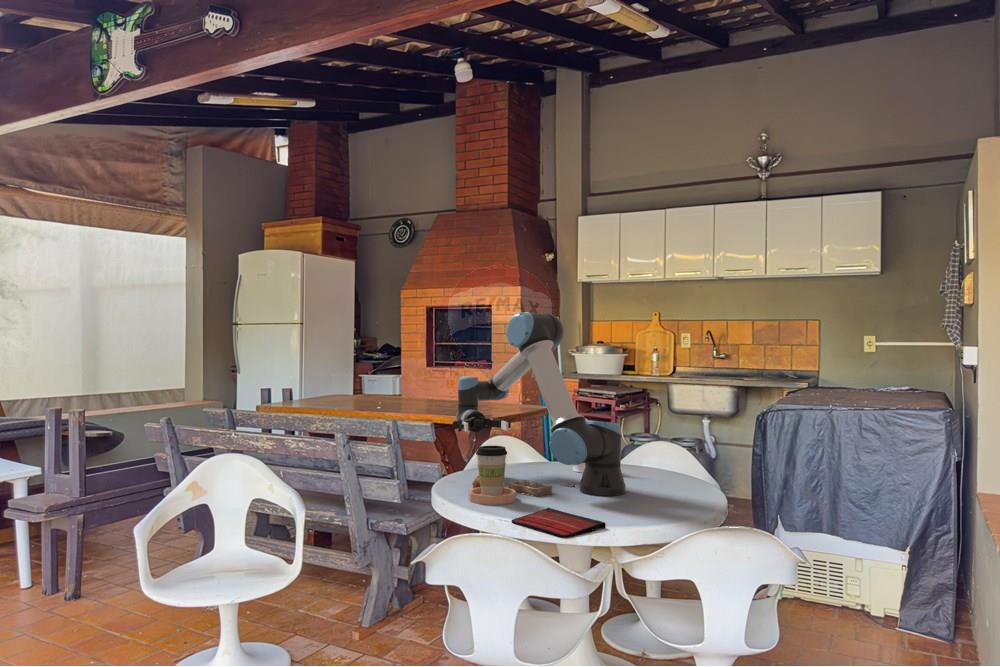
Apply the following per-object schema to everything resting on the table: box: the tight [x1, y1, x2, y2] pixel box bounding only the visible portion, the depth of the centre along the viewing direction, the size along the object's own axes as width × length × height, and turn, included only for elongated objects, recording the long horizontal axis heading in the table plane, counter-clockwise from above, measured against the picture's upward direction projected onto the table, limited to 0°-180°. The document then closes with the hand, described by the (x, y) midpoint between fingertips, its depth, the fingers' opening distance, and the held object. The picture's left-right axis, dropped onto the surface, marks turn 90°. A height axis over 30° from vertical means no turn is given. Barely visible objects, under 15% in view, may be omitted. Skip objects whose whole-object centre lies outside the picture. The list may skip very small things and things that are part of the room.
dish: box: [467, 486, 517, 506], centre depth 215 cm, size 14×14×2 cm
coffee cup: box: [475, 445, 508, 496], centre depth 215 cm, size 10×10×15 cm
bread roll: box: [471, 475, 481, 488], centre depth 228 cm, size 10×10×8 cm
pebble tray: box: [508, 479, 553, 497], centre depth 226 cm, size 12×8×3 cm, turn 44°
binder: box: [511, 507, 607, 539], centre depth 185 cm, size 16×2×21 cm
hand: (487, 427), depth 228 cm, fingers open, 13 cm apart
